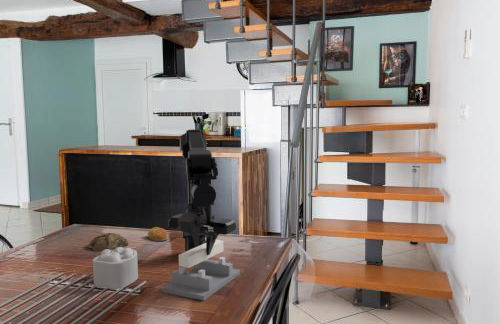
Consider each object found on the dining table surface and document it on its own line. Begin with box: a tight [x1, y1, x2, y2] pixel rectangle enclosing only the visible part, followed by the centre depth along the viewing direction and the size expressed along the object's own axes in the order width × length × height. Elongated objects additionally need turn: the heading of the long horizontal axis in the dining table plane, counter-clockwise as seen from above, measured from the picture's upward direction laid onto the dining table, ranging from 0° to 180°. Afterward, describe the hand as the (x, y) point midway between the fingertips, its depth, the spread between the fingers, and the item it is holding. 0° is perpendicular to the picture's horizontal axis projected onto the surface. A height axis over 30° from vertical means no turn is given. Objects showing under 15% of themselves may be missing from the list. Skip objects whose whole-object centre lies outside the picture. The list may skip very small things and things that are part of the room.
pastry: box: [147, 226, 169, 242], centre depth 164 cm, size 9×7×4 cm
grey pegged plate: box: [161, 256, 241, 302], centre depth 121 cm, size 20×13×6 cm, turn 154°
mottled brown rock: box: [88, 232, 129, 252], centre depth 155 cm, size 13×12×5 cm
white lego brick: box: [92, 247, 139, 290], centre depth 123 cm, size 10×13×9 cm
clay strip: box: [178, 239, 225, 269], centre depth 120 cm, size 16×3×3 cm, turn 149°
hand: (202, 253), depth 120 cm, fingers closed on clay strip, 4 cm apart
